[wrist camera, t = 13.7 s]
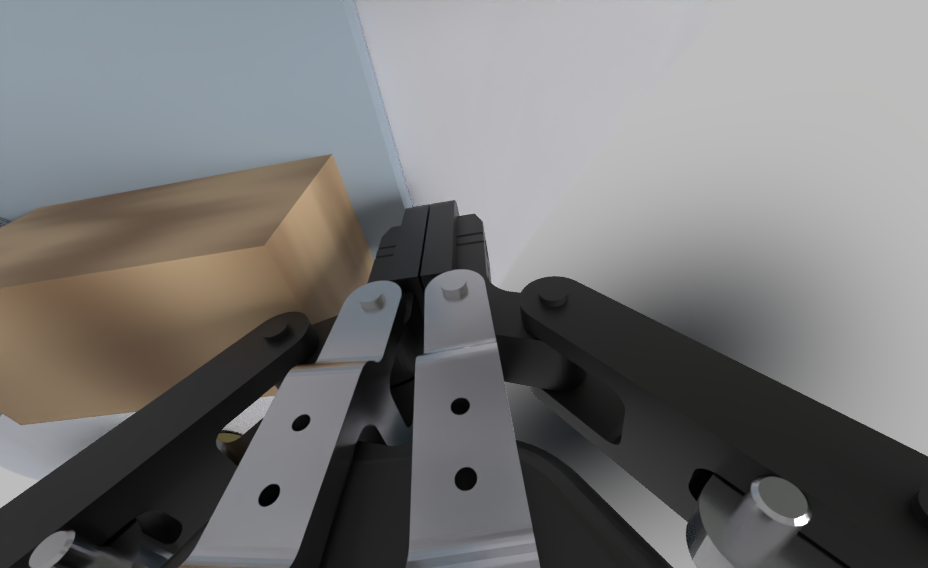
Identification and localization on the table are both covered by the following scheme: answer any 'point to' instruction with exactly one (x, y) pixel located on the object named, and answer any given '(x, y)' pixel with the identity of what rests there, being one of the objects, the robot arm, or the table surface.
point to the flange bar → (165, 283)
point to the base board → (189, 99)
